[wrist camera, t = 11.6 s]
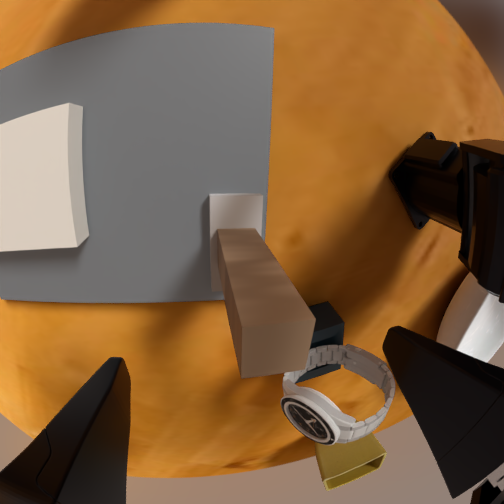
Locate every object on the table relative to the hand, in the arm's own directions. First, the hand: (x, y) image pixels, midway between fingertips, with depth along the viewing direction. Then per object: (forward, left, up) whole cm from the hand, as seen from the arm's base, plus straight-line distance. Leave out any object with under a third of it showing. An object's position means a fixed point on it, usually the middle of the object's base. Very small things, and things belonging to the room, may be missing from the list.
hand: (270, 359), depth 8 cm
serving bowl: (-30, -16, -12) cm, 36 cm away
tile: (+13, +6, -9) cm, 17 cm away
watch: (-11, +2, -12) cm, 16 cm away
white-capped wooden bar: (0, 0, -10) cm, 10 cm away
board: (+10, +3, -11) cm, 15 cm away
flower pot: (-32, +11, -12) cm, 36 cm away
